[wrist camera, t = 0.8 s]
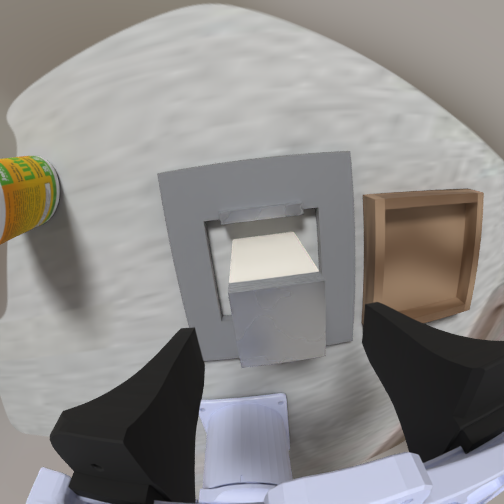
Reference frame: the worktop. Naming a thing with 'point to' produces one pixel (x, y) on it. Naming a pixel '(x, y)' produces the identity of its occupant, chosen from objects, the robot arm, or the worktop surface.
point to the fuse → (276, 300)
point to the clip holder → (257, 208)
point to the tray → (422, 251)
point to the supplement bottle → (26, 194)
